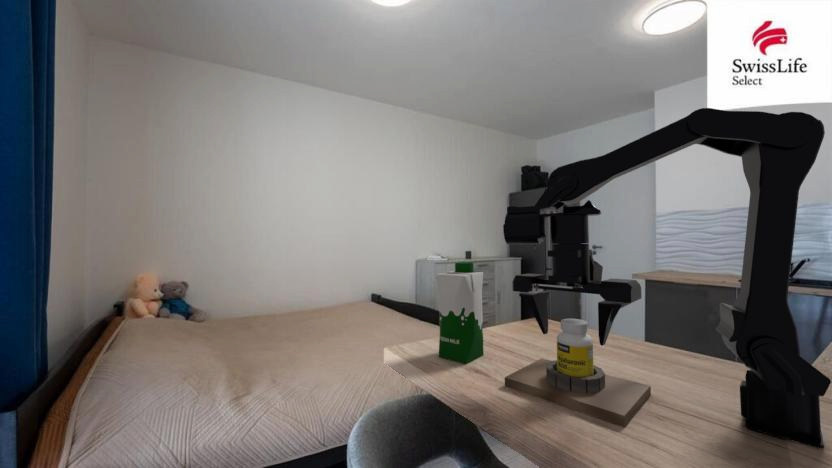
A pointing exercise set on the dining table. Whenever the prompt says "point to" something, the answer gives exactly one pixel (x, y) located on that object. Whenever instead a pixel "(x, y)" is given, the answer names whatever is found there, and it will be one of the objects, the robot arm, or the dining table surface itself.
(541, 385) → the socket board
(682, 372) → the dining table surface
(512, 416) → the dining table surface
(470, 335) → the milk carton
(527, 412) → the dining table surface
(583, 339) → the supplement bottle
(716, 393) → the dining table surface
